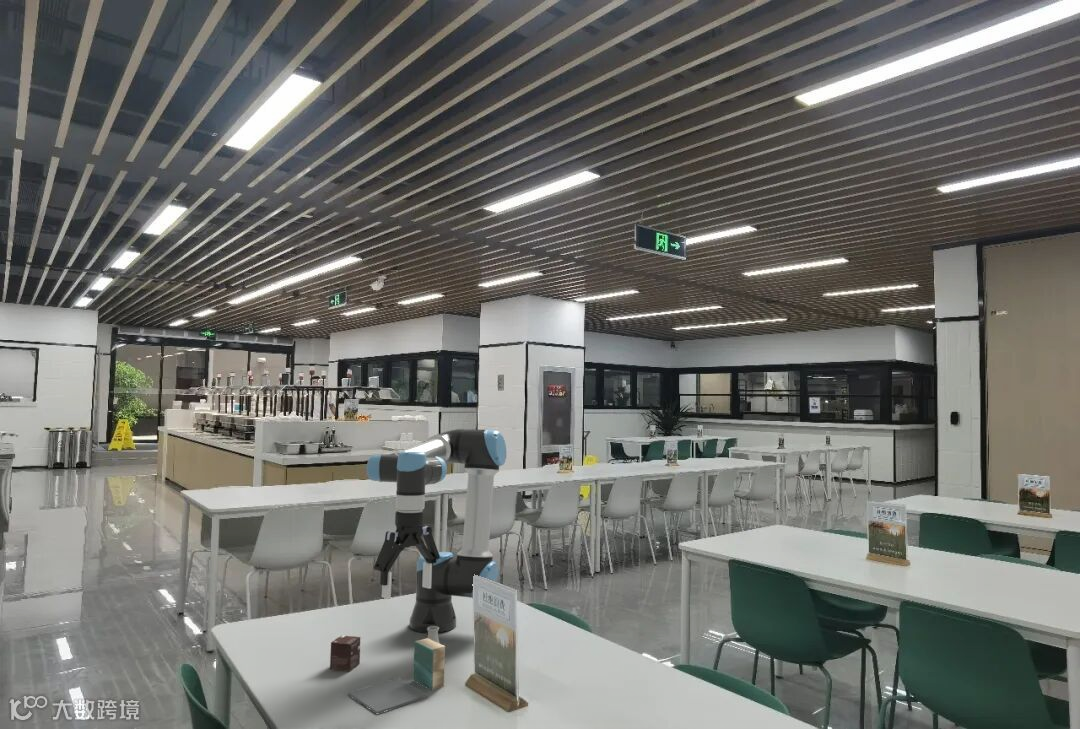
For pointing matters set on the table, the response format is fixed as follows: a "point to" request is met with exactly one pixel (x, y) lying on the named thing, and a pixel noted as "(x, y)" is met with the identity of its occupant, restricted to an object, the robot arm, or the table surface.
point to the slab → (429, 663)
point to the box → (345, 653)
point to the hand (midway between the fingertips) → (407, 592)
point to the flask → (433, 633)
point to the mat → (387, 695)
